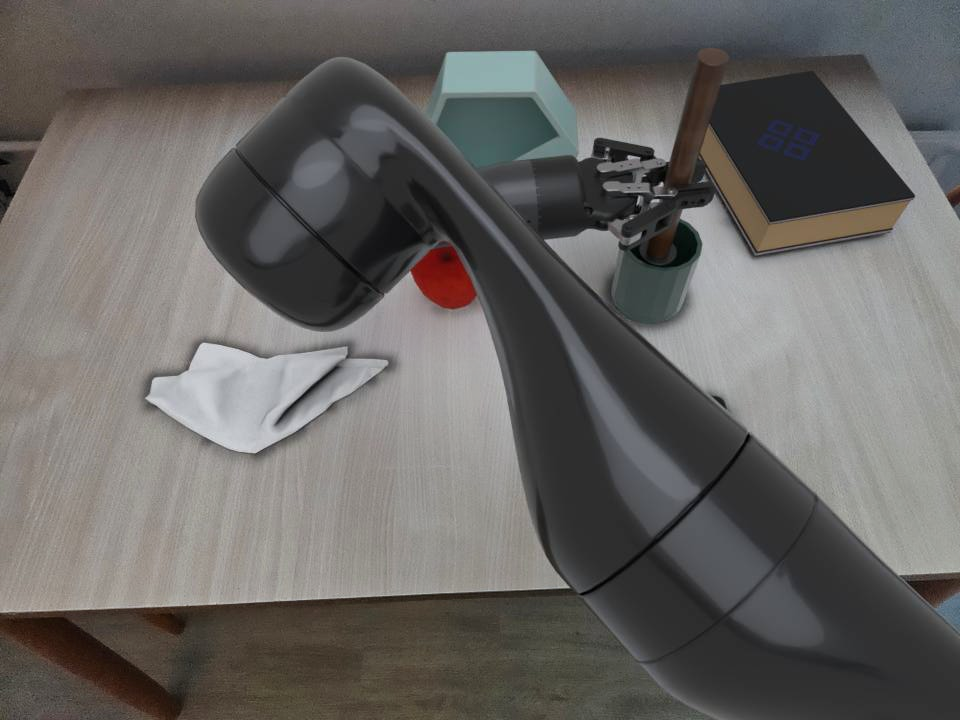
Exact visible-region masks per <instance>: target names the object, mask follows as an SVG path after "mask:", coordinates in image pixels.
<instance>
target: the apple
mask: <svg viewBox="0 0 960 720" xmlns="http://www.w3.org/2000/svg"><path fill="white" fill-rule="evenodd" d="M410 274H411V276H412V279H413V282H415V284H416V287H417V288H418V289H419V291H420V292H421V293H422V295H423V296H424V297H425V298H426V299H428V300H429V301H430V302H432V303H433V304H435V305H437V306H438V307H440V308H442V309H448V310H457V309H462V308H466V307H467V306H468V305H470V304H471V303H472V302H473V301H474V300H475V299H476V298H477V297H478V296H477V294H476V291H475V289H474V286H473V284H472V281H471V279H470V277H469V275H468V273H467V272H466V270H465V268H464V266H463V264H462V262H461V260H460V258H459V256H458V254H457V252H456V250H455V249H454V247H452V248H445V249H439V250H435V251H430V252H429V253H428V254H427V255H426V256H425V257H424V258H423V259H422V260H421V261H420V262H419V263H418V264H417V265H416V266H415V267H414V268H413V269H412V270H411V271H410Z"/></svg>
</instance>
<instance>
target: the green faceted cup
mask: <svg viewBox="0 0 960 720" xmlns="http://www.w3.org/2000/svg"><path fill="white" fill-rule="evenodd" d="M673 244H674V245H675V247H676V249H677V256H676V259H675V262H674V266H673V267H668V268H661V267H656V266H652V265H648V264H646V263H644V262H643V261H641V260H639V259H637V254H638V250H639V247H640V244H639V245H637V246H636V247H634V248H632V249H630V250H628V251H622V250H620V249H619V248H618V249H619V250H618V255H617V259H616V264H615V269H614V275H613V279H612V285H611V292H610V293H611V299H612V303H613V304H614V306H615V307H616V309H617V310H618V311H619V312H620V313H621V314H622V315H623V316H624V317H626V318H628V319H630V320H633V321H635V322H636V323H637V322H638V323H641V324H659V323H663V322H667V321H668V320H671V319H673V318H674V317H675V316H676V315H677V314H678V313H679V312H680V311H681V308H682V306H683V304H684V302H685V299H686V297H687V294H688V291H689V288H690V285H691V283H692V280H693V277H694V275H695V272H696V269H697V266H698V263H699V261H700V257H701V254H702V250H703V241H702V238H701V236H700V233H699V231H697V229H696V228H694V227H693V225H692V224H691V223H690V222H688V221H686V220H684V219H682V218H680V220H679V223H678V227H677V230H676V233H675V236H674V240H673Z"/></svg>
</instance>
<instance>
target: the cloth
mask: <svg viewBox="0 0 960 720" xmlns="http://www.w3.org/2000/svg"><path fill="white" fill-rule="evenodd" d="M348 350H349V347H348V346H342V347H335V348H327V349H321V350H313V351H307V352H301V353H300V352H299V353H287V354H277V355H274V356H272V357H269V358H264V357H259V356H256V355H254V354H252V353H249V352H247V351H244V350H241V349H238V348H234V347H230V346H226V345H221V344H215V343H210V342H201V343H200V345H199V346H198V348H197V350H196V352H195V353H194V356H193V358H192V360H191V362H190V365H189V368H188V370H185V371H183V372H182V373H180V374H178V375H169V376H157V377H154V378H153V379H152V381H151V385H150V392H149V394H148V395H147V396H146V397H145V398H144V399H145V400H146V401H148V403H150V404H151V405H154V406H157V407H158V408H159V410H161V411H162V412H164V413H165V414H166V415H168V417H171V418H172V419H174V420H175V421H177V422H178V423H180V424H181V425H183V426H184V427H186V428H187V429H190V430H191V431H193V432H195V433H197V434H198V435H200V436H202V437H204V438H205V439H208V440H210V441H212V442H214V443H215V444H217V445H219V446H222V447H224V448H225V449H228V450H232V451H235V452H237V453H238V452H239V453H248V454H256V453H259V452H260V451H262V450H264V449H266V448H268V447H269V446H272V445H273V444H275V443H277V442H279V441H281V440H283V439H285V438H287V437H289V436H290V435H292V434H294V433H296V432H297V431H298V430H300V429H301V428H302V427H304V426H306V425H307V424H308V423H309V422H311V421H313V420H314V419H316V418H317V417H318V416H320V415H321V414H323V413H324V412H326V410H327V409H328V408H330V406H332V405H333V404H334V403H335V402H336V401H339V400H341V399H342V398H344V397H347V396H348V395H350V394H352V393H353V392H354V391H356V390H357V389H360V387H362V386H363V385H364V384H365V383H367V382H368V381H370V380H371V379H373V378H374V377H375V376H376V375H377V374H379V373H381V371H383V370H384V369H385V368H387V367H388V366H389V365H390V363H389V360H387V359H379V358H347V356H348V355H349V351H348Z"/></svg>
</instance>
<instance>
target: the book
mask: <svg viewBox="0 0 960 720" xmlns="http://www.w3.org/2000/svg"><path fill="white" fill-rule="evenodd" d="M698 160H703V161H704V163H705V165H706V170H705V173H706V174H707V176H708V178H709V179H710V181H712V182H713V183H714V185H715V187H716V192H717V193H718V195H719V198H721V200H722V202H723V203H724V206H725V207H726V209H727V211H728V212H729V214H730V216H731V218H732V219H733V221H734V222H735V224H736V226H737V228H738V230H739V231H740V233H741V235H742V237H743V238H744V240H745V242H746V244H747V246H748V247H749V249H750V251H751V252H752V254H753V256H754V257H758V256H765V255H771V254H776V253H782V252H787V251H788V252H789V251H792V250H799V249H805V248H810V247H815V246H822V245H827V244H834V243H838V242H845V241H851V240H857V239H863V238H868V237H873V236H880V235H884V234H890V233H892V231H893V230H894V228H893V227H894V226H895V224H896V223H897V221H898V220H899V219H900V217H901V216H902V214H903V213H904V211H905V210H906V208H907V207H908V205H909V204H910V203H911V201H914V200H915V198H916V194H915V193H914V192H913V190H911V188H910V187H909V186H908V185H907V184H906V182H905V181H904V180H903V178H902V177H901V176H900V174H898V172H897V171H896V170H895V168H894V167H893V166H892V165H891V164H890V162H889V161H888V159H886V157H885V156H884V155H883V154H882V153H881V151H880V150H879V149H878V148H877V147H876V145H874V143H873V142H872V141H871V139H870V138H869V137H868V136H867V135H866V133H865V132H864V130H863V129H861V127H860V126H859V125H858V124H857V122H856V121H855V120H854V118H852V116H851V115H850V113H848V111H847V110H846V109H845V108H844V107H843V105H842V104H841V103H840V102H839V100H838V99H837V97H835V95H834V94H833V93H832V92H831V90H830V89H829V88H828V87H827V86H826V85H825V84H824V82H823V81H822V80H821V79H820V77H819V76H818V75H817V74H816V72H815V71H814V70H808V71H801V72H795V73H789V74H783V75H776V76H775V75H774V76H770V77H763V78H757V79H750V80H744V81H743V80H742V81H736V82H730V83H723V84H721V86H720V89H719V92H718V96H717V99H716V102H715V106H714V109H713V112H712V115H711V119H710V122H709V125H708V128H707V132H706V135H705V138H704V142H703V145H702V148H701V151H700V155H699V158H698Z"/></svg>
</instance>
